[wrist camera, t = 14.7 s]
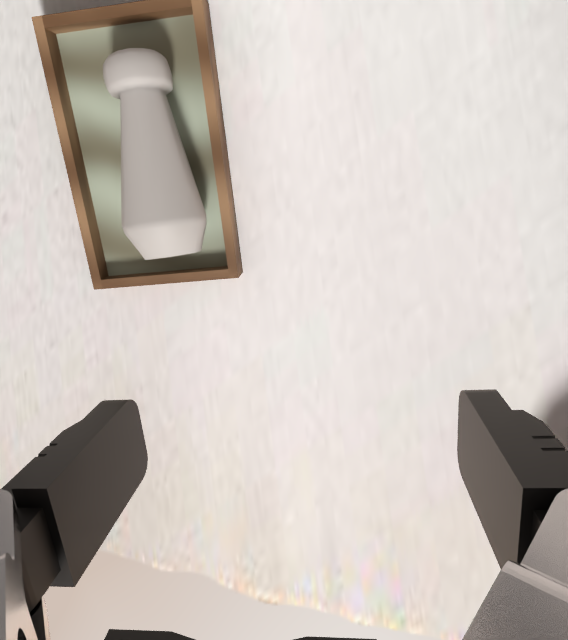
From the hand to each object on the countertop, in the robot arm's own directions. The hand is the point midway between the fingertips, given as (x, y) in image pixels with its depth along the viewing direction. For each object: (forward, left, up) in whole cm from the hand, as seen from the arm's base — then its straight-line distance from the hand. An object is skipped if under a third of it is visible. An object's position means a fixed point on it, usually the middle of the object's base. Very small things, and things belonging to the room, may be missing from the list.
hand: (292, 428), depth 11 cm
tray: (+1, -14, -25) cm, 29 cm away
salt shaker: (+5, -8, -21) cm, 24 cm away
